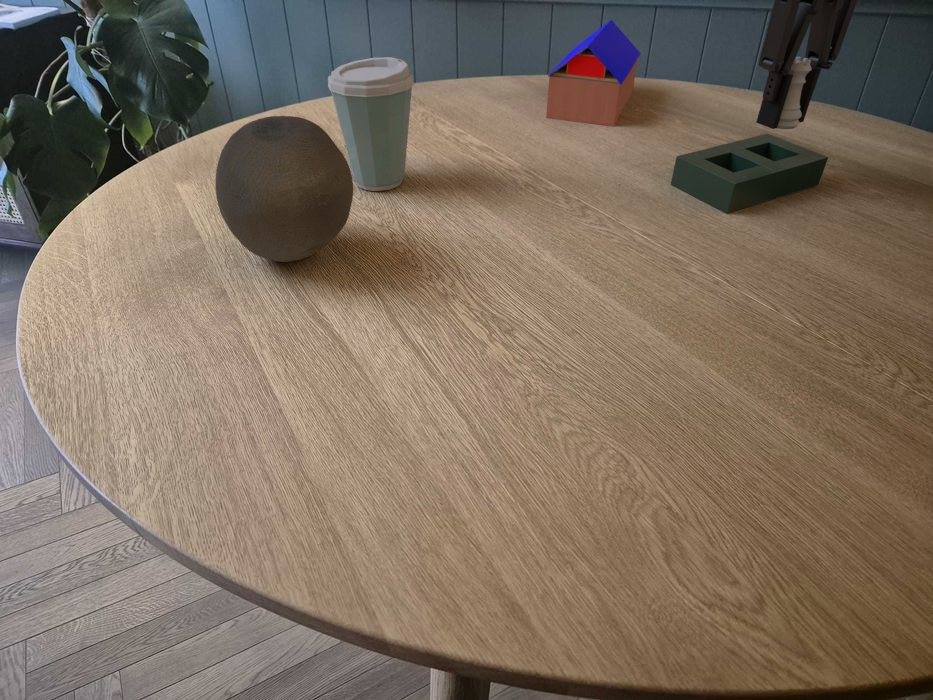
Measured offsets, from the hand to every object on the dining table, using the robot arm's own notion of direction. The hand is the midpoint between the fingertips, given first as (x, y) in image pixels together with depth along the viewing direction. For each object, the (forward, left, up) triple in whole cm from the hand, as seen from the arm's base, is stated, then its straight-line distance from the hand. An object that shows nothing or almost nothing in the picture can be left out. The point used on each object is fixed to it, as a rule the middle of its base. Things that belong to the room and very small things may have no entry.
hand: (779, 121), depth 86 cm
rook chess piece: (0, 0, 0) cm, 1 cm away
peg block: (0, +4, -8) cm, 9 cm away
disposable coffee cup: (+25, +47, -8) cm, 54 cm away
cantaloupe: (+11, +63, -8) cm, 64 cm away
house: (+37, +1, -8) cm, 38 cm away
